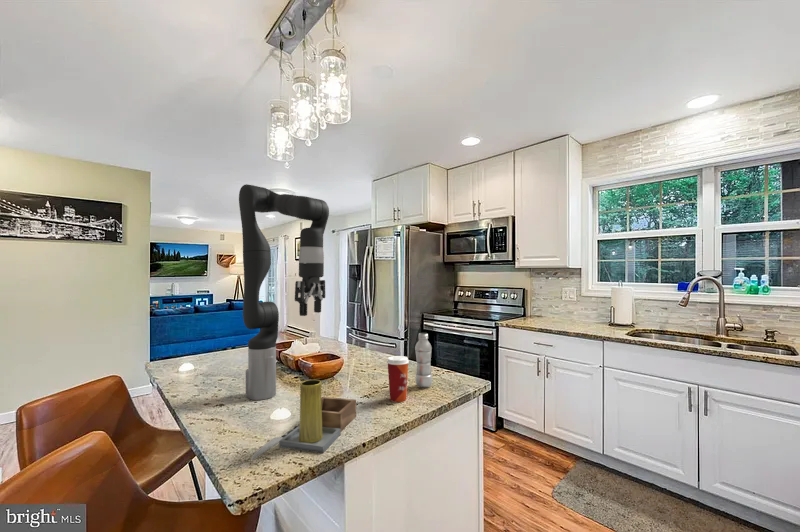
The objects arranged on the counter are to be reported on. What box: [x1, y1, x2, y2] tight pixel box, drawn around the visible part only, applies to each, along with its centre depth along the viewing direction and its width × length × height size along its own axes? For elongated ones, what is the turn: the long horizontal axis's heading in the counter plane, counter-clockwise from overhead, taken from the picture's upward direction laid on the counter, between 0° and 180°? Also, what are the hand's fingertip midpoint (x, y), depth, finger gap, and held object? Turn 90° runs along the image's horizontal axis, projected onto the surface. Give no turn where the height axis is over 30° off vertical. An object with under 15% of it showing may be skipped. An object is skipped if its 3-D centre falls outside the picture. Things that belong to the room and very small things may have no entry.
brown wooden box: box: [321, 396, 357, 433], centre depth 100 cm, size 11×11×5 cm
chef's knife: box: [251, 425, 299, 461], centre depth 88 cm, size 19×1×3 cm
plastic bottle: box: [414, 332, 433, 388], centre depth 132 cm, size 6×7×20 cm
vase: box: [298, 379, 323, 443], centre depth 89 cm, size 6×6×14 cm
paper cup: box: [386, 355, 410, 403], centre depth 119 cm, size 8×8×14 cm
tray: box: [278, 424, 342, 454], centre depth 89 cm, size 12×10×2 cm
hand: (310, 314), depth 108 cm, fingers open, 8 cm apart
